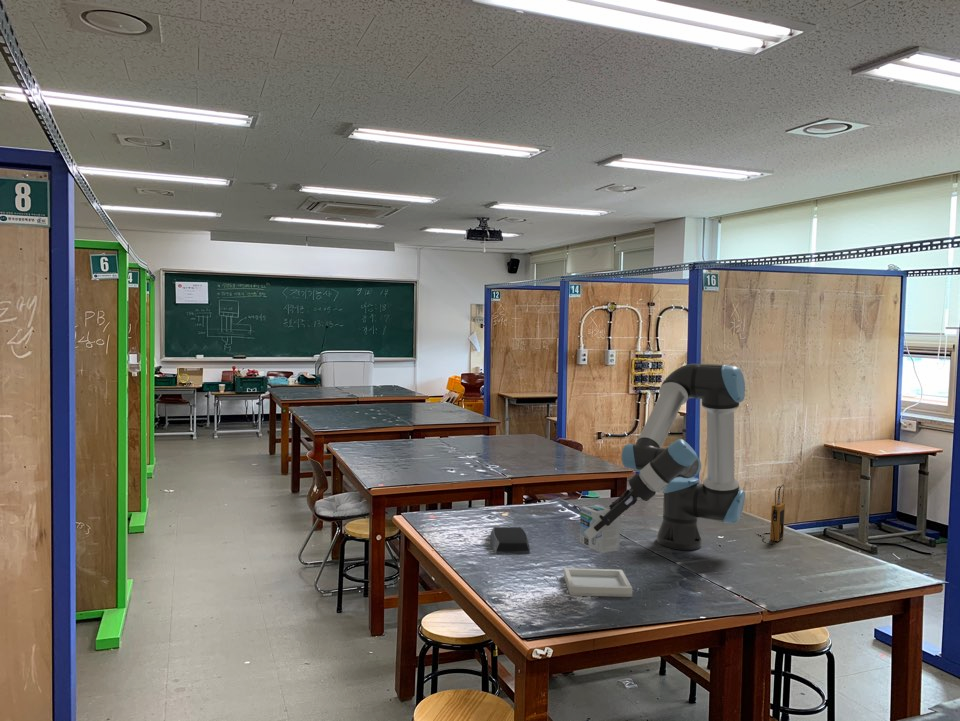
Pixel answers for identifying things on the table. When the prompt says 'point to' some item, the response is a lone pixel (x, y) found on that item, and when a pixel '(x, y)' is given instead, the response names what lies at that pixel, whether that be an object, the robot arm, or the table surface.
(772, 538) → the multimeter
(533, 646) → the table surface
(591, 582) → the housing tray
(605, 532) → the light bulb box
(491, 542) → the external hard drive
